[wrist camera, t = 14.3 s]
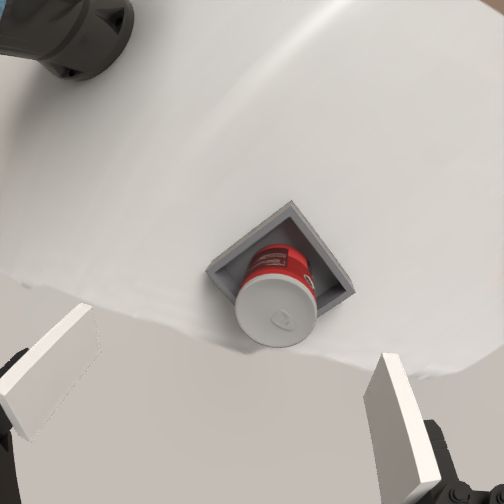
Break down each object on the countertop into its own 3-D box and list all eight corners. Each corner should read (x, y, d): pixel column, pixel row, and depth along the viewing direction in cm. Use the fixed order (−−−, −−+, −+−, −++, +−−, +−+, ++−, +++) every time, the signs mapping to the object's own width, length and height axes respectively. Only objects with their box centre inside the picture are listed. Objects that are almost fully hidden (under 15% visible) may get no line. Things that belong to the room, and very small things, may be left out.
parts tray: (213, 260, 41) (204, 271, 37) (291, 200, 37) (291, 205, 33) (273, 329, 43) (270, 345, 39) (350, 279, 39) (355, 292, 35)
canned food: (295, 308, 41) (294, 359, 30) (239, 283, 41) (221, 327, 30) (323, 259, 38) (333, 299, 28) (264, 230, 38) (253, 261, 28)
